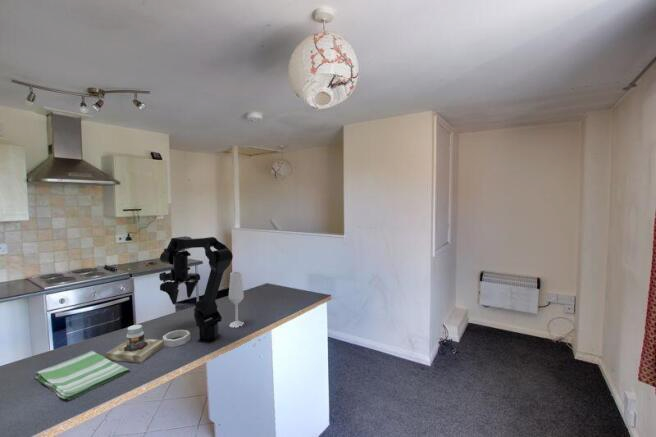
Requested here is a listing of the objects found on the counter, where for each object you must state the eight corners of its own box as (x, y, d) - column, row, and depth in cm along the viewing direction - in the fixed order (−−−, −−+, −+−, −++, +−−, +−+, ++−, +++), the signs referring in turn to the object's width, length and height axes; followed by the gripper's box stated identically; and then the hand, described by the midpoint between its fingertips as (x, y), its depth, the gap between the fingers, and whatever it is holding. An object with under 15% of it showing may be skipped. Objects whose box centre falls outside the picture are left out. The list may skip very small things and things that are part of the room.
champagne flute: (241, 320, 146) (240, 270, 144) (246, 325, 141) (245, 273, 139) (227, 323, 142) (226, 272, 141) (231, 328, 137) (230, 275, 135)
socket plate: (164, 346, 121) (163, 340, 120) (141, 362, 109) (141, 356, 109) (131, 343, 123) (131, 337, 122) (106, 359, 111) (105, 353, 111)
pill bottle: (132, 358, 112) (131, 331, 111) (123, 354, 115) (122, 328, 114) (147, 351, 117) (146, 325, 116) (139, 347, 120) (138, 322, 119)
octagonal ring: (194, 336, 129) (194, 330, 129) (180, 347, 120) (180, 341, 120) (173, 334, 131) (173, 329, 130) (158, 345, 121) (157, 339, 121)
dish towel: (65, 404, 88) (65, 395, 88) (32, 380, 99) (31, 372, 99) (130, 373, 103) (130, 365, 103) (95, 355, 115) (95, 348, 114)
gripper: (179, 260, 144) (180, 293, 146) (147, 269, 126) (149, 306, 127) (200, 261, 142) (201, 294, 143) (171, 271, 124) (172, 309, 125)
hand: (181, 300), depth 135 cm, fingers open, 9 cm apart
